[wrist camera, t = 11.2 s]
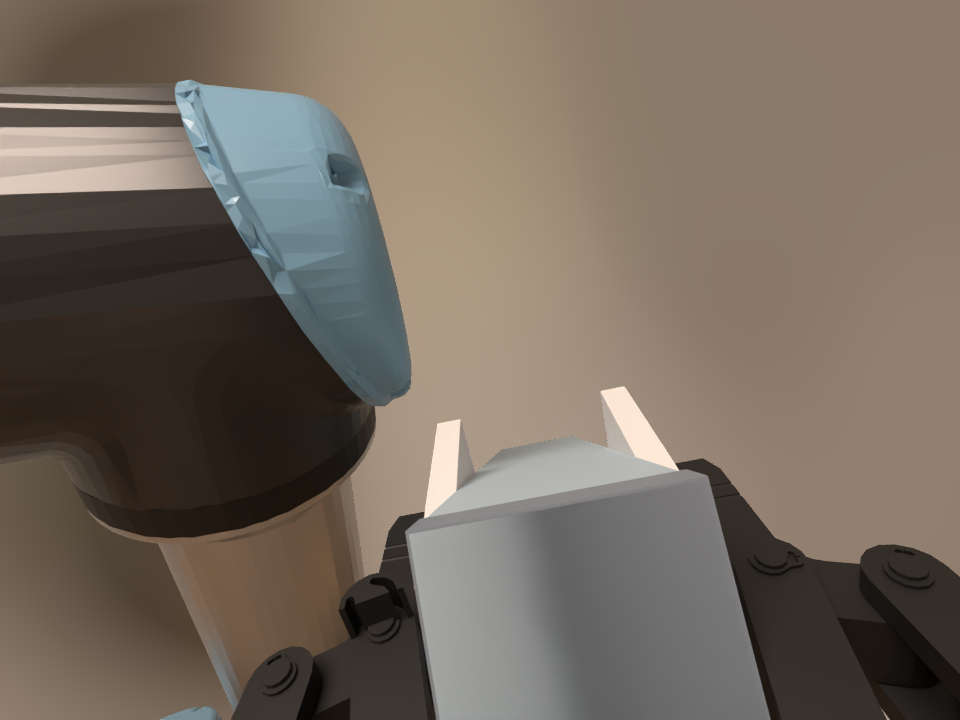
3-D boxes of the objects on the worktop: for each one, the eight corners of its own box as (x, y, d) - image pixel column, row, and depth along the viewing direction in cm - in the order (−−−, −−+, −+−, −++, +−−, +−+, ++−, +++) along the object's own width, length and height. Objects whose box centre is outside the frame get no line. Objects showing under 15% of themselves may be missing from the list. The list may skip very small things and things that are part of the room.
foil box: (460, 866, 7) (405, 532, 8) (515, 522, 31) (500, 449, 31) (797, 823, 7) (707, 475, 7) (588, 509, 30) (572, 435, 31)
